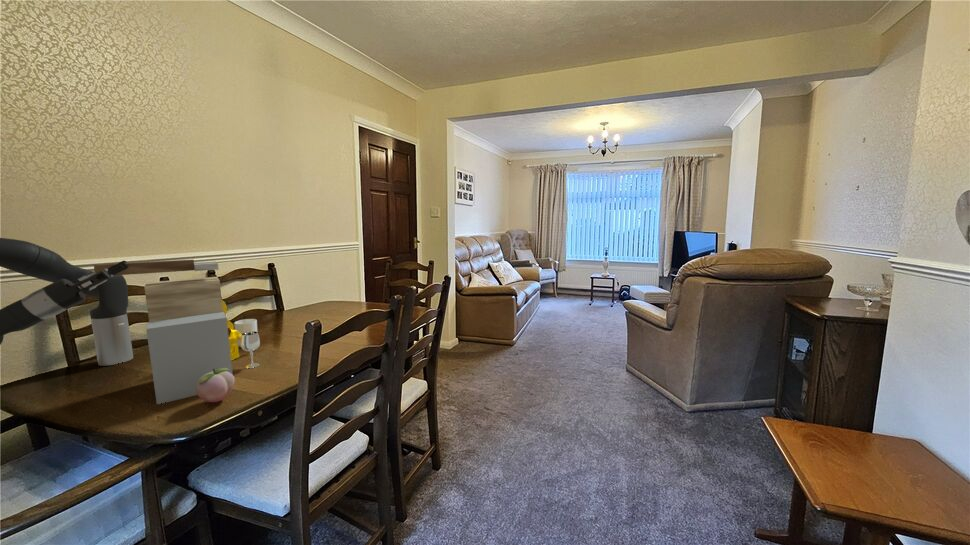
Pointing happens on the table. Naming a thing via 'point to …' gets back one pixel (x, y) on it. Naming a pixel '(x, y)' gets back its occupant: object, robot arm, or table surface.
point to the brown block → (160, 266)
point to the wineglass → (250, 345)
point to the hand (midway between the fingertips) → (126, 263)
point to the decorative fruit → (215, 385)
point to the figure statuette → (232, 336)
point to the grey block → (186, 353)
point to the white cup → (245, 327)
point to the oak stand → (183, 298)
